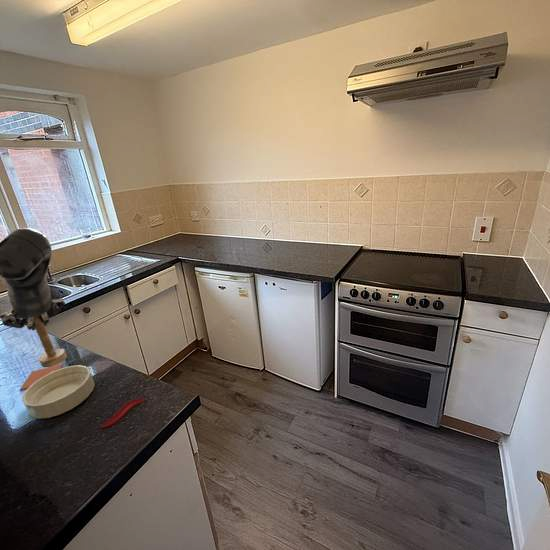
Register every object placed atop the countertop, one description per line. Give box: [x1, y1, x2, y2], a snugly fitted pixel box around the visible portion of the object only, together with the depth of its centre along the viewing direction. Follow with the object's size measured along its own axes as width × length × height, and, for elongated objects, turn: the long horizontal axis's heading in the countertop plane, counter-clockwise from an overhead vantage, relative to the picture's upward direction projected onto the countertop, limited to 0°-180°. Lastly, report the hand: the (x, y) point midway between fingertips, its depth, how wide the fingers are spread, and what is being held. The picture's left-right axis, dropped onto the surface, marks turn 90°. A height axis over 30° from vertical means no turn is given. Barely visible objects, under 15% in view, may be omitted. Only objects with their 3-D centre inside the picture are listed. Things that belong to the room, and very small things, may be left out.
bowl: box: [21, 364, 96, 420], centre depth 86 cm, size 16×16×5 cm
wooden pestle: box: [33, 316, 67, 368], centre depth 82 cm, size 6×6×15 cm
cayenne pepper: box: [99, 398, 147, 429], centre depth 79 cm, size 12×5×2 cm, turn 129°
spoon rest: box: [19, 363, 64, 391], centre depth 97 cm, size 9×9×1 cm
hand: (38, 325), depth 82 cm, fingers closed on wooden pestle
